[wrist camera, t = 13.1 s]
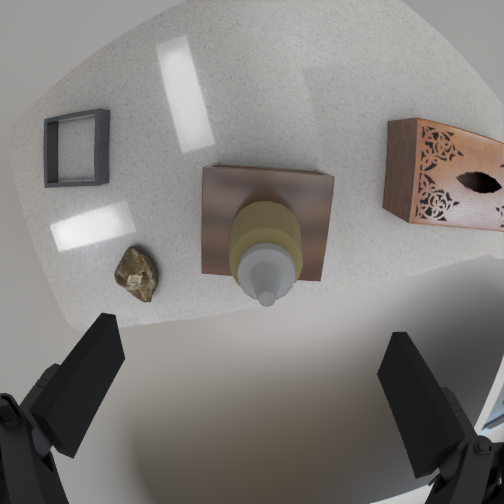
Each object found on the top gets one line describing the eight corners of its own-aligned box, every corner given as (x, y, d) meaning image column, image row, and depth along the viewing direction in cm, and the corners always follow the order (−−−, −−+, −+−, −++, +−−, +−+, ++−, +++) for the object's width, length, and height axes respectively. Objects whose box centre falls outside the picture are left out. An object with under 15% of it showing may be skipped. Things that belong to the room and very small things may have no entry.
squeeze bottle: (234, 193, 36) (207, 238, 19) (300, 197, 35) (334, 246, 19) (231, 255, 38) (208, 341, 21) (294, 259, 38) (315, 347, 21)
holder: (55, 119, 41) (44, 119, 38) (110, 110, 41) (99, 108, 38) (55, 184, 45) (44, 187, 42) (108, 182, 45) (98, 185, 42)
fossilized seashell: (159, 307, 50) (169, 254, 49) (130, 314, 45) (138, 256, 43) (134, 291, 54) (142, 241, 52) (107, 295, 48) (113, 242, 46)
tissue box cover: (382, 207, 45) (409, 223, 36) (388, 121, 40) (417, 117, 31) (487, 218, 44) (519, 233, 35) (495, 148, 39) (528, 153, 30)
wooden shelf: (215, 162, 44) (202, 167, 35) (319, 170, 44) (334, 176, 34) (213, 248, 49) (201, 273, 39) (309, 255, 49) (320, 281, 39)
